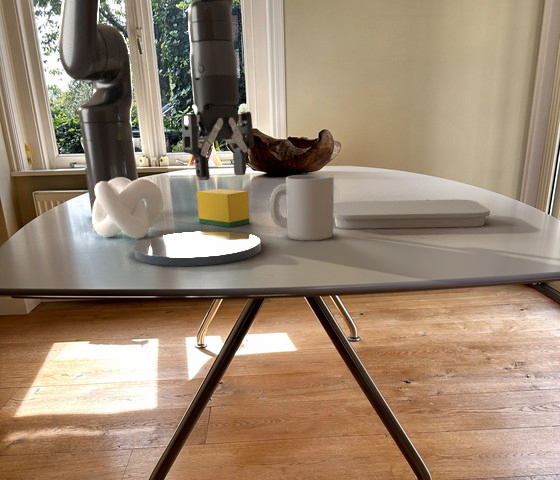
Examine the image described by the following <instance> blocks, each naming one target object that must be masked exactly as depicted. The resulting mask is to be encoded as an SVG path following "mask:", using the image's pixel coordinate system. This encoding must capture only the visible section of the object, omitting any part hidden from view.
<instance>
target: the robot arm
mask: <svg viewBox="0 0 560 480" xmlns="http://www.w3.org/2000/svg"><path fill="white" fill-rule="evenodd" d="M233 4H234V0H193V1H192V2H190V4H189V5H188V9H187V23H188V35H189V43H190V44H189V45H190V51H189V52H190V54H189V62H190V74H191V85H192V95H193V104H194V106H195V107H196V109H197V110H196V113H194V112H193V113H191V112H190V113H189V112H188V113H182V114H181V133H182V150H183V152H184V153H185V154H188V155H189V154H190V155H192V156H193V158H194V167H195V175H196V177H197V179H198V180H199V181H209V180H210V176H211V175H210V166H209V157H208V156H207V155H208V152H209V150H210V147H211V146H212V145H213V144H214V143H215V141H225V142H226V143H227V144H228V145H229V147H230V148H231V150H232V151H233V153H232V161H233V173H234V175H235V176H245V175H246V172H247V157H246V156H247V155H246V153H247V152H248V151H249V149H253V148H254V146H255V139H254V129H253V118H252V113H251V111H238V110H237V105H239V103H240V97H239V82H238V81H239V80H238V79H239V78H238V65H237V64H238V63H237V54H236V49H235V42H234V26H233V25H234V24H233V15H232V9H233ZM99 8H100V0H62V1H61V10H60V19H59V29H58V54H59V59H60V63H61V66H62V68H63V70H64V71H65V73H66V74H67V76H69V77H70V78H71V79H72V80H75V81H78V82H79V81H80V82H92V89H93V91H92V95H91V97H90V98H89V100H87V101H86V102H84V103H83V104H81V105H80V106H79V107H78V109H77V110H78V111H77V112H78V120H79V126H80V132H81V139H82V144H83V145H82V146H83V152H84V153H83V154H84V158H85V168H84V170H85V178H86V184H87V191H88V198H89V203H90V210H91V211H90V212H91V213H92V212H93V206H94V202H95V199H96V196H95V186H96V184H97V183H99V182H101V181H107V182H108V181H110V180H112V179H114V178H118V177H123V178H127V179H129V180H130V181H134V180H137V179H139V177H138V175H139V174H138V169H137V168H138V167H137V160H136V159H137V158H136V152H135V142H134V134H133V125H132V118H131V117H132V116H131V112H132V107H133V102H134V101H133V99H134V95H133V83H132V68H131V57H130V51H129V47H128V44H127V41H126V39H125V37H124V34H122V32H121V31H120V30H119V29H118V28H117V27H115V26H112V25H109V24H104V23H99ZM198 127H199V129H198Z"/></svg>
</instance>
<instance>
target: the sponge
mask: <svg viewBox="0 0 560 480" xmlns="http://www.w3.org/2000/svg"><path fill="white" fill-rule="evenodd" d="M196 201H197V209H198V210H197V211H198V221H199V224H204V225H212V226H220V227H226V228H233V227H237V226H242V225H246V224H250V203H249V201H250V200H249V191H248V190H238V189H226V188H212V189H206V190H198V191H196Z"/></svg>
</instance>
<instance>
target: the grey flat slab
mask: <svg viewBox="0 0 560 480" xmlns="http://www.w3.org/2000/svg"><path fill="white" fill-rule="evenodd" d="M490 215H491V209H489V208H487V207H486V206H484V205H482V204H481V203H479V202H477V201H475V200H471V199H416V200H415V199H412V200H410V199H409V200H369V201H368V200H364V201H363V200H362V201H358V200H357V201H337V202H333V219H334V222H335V227H336V228H338V229H348V230H350V229H351V230H352V229H353V230H355V229H356V230H357V229H358V230H359V229H411V228H413V229H415V228H416V229H417V228H465V227H468V228H469V227H473V228H475V227H482V226H484V225H485V224H486V223H485V220H486V217H488V216H490Z"/></svg>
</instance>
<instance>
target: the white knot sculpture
mask: <svg viewBox="0 0 560 480" xmlns="http://www.w3.org/2000/svg"><path fill="white" fill-rule="evenodd" d="M95 196H96V199H95V202H94V206H93V212H92V211H91V222H92V227H93V229H94V230H95V232H96V234H98V235H99V236H102V237H104V238H111V237H112V238H113V237H115V236H116V235H118V234H119V233H120V232H123V233H124V234H125V235H126V236H128V237H130V238H131V239H142V238H144V237H145V236H147V234H148V232H149V229H151V228H152V227H154V225H156V223H157V222H158V221H159V220H160V218H161V215H162V214H163V210H164V197H163V193H162V190H161V188H160V187H159V186H158V185H157V184H156V183H155V182H154V181H152V179H148V178H138V179H137V180H134V181H130V180H129V179H127V178H123V177H118V178H114V179H112V180H110V181H108V182H107V181H101V182H99V183H97V184H96V186H95Z"/></svg>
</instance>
